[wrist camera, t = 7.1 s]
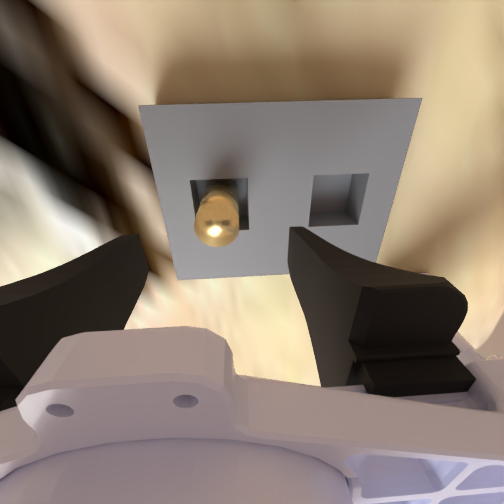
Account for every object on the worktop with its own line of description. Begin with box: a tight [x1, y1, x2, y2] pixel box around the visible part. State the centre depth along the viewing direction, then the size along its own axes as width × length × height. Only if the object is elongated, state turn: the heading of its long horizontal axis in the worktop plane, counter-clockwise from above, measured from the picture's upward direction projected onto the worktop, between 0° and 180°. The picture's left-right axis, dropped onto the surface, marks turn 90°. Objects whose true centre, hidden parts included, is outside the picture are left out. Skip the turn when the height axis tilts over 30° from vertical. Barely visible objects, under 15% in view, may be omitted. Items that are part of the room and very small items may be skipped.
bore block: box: [138, 98, 422, 280], centre depth 18 cm, size 12×16×3 cm
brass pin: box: [194, 179, 239, 247], centre depth 16 cm, size 2×2×6 cm
